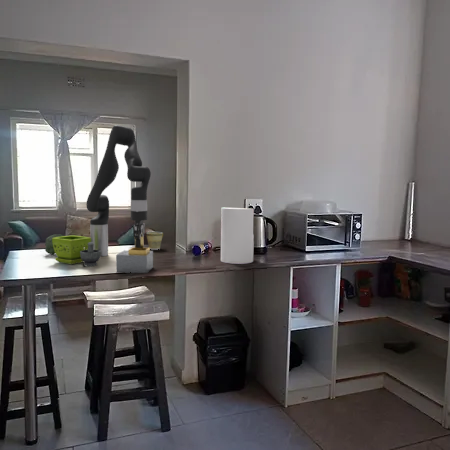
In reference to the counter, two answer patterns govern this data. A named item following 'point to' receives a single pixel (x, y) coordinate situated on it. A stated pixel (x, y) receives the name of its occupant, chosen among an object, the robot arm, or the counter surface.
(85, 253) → the mortar and pestle
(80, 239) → the flower pot
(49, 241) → the vegetable
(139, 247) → the pellet
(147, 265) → the grey box
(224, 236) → the cylinder
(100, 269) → the counter surface
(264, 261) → the counter surface
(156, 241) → the ceramic cup
